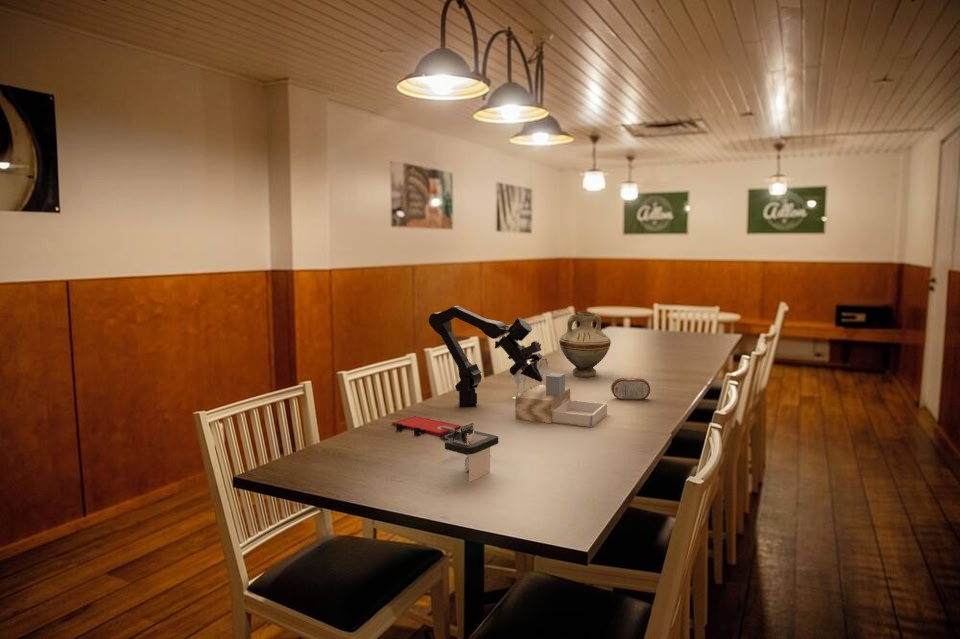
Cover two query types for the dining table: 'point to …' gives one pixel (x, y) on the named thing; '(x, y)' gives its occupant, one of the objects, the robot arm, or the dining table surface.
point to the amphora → (584, 344)
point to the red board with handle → (427, 427)
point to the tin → (630, 388)
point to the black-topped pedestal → (473, 449)
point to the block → (555, 384)
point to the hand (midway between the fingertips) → (541, 381)
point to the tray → (579, 413)
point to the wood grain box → (538, 404)
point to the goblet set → (517, 378)
